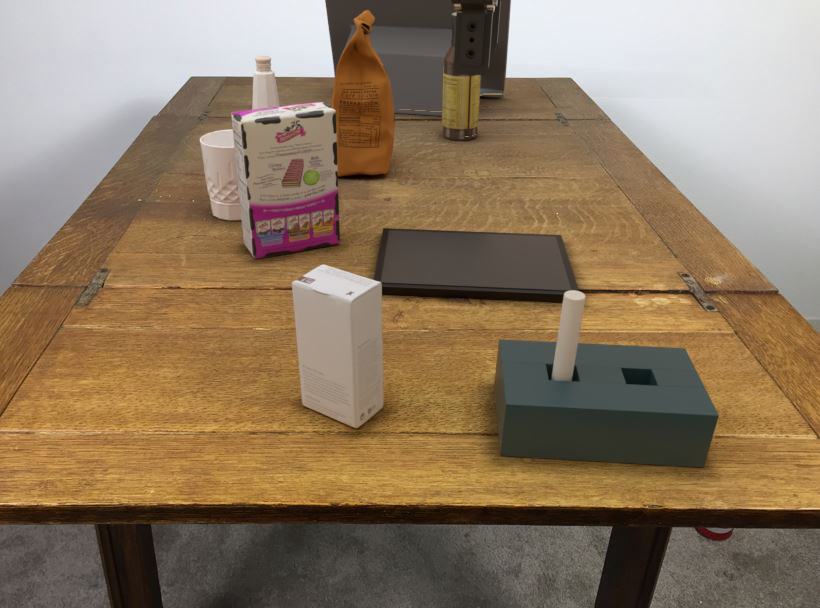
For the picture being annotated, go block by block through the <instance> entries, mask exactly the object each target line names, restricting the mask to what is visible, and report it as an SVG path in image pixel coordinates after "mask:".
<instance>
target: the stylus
mask: <svg viewBox="0 0 820 608" xmlns="http://www.w3.org/2000/svg"><path fill="white" fill-rule="evenodd" d="M585 303H586V294H585V293H584V292H582V291H580V290H579V291H575V290H570V291H566V292H565V293H564V297H563V302H562V304H561V311H560V318H559V326H558V330H557V338H556V342H557V344H556V351H555V358H554V364H553V371H552V378H551V380H555V381H572V376H573V370H574V364H575V358H576V352H577V346H578V343H579V340H580V335H581V334H580V333H581V327H582V320H583V316H584V307H585Z"/></svg>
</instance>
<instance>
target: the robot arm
mask: <svg viewBox="0 0 820 608" xmlns="http://www.w3.org/2000/svg"><path fill="white" fill-rule="evenodd" d="M451 1H452V4H453V5H454V11H457V15H456V34H455V54H454V70H455V71H456V72H457V73H458V74H463V75H484V74H485V73H486V72H487V71H488V68H489V60H490V50H493V49H494V48H495V47H496V46H497V43H498V31H499V18H500V5H501V0H451Z"/></svg>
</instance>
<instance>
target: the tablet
mask: <svg viewBox="0 0 820 608" xmlns="http://www.w3.org/2000/svg"><path fill="white" fill-rule="evenodd" d="M373 280H375V281H378V282H381V283H382V296H383V295H384V296H385V295H386V296H387V295H388V296H409V297H432V298H452V299H453V298H454V299H475V300H477V299H479V300H495V301H496V300H497V301H498V300H499V301H522V302H543V303H545V302H546V303H563V297H564V293H565V292H566V291H570V290H575V291H580V290H579V287H578V283H577V281H576V278H575V274H574V271H573V268H572V265H571V262H570V259H569V254H568V252H567V248H566V245H565V242H564V239H563V236H562V234H547V233H546V234H545V233H524V232H523V233H521V232H520V233H519V232H495V231H494V232H493V231H469V230H468V231H467V230H444V229H443V230H441V229H417V228H415V229H414V228H390V227H389V228H388V227H383V228H382V232H381V238H380V244H379V249H378V254H377V260H376V265H375V271H374V277H373Z"/></svg>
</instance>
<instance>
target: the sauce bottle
mask: <svg viewBox="0 0 820 608" xmlns="http://www.w3.org/2000/svg"><path fill="white" fill-rule="evenodd" d="M456 15H457V12H456V13H452V15H451V23H452V38H451V41H452V42H451V44H452V45H451V46H450V48H449V50H448V51H447V53H446V55H445V58H444V68H443V108H442V116H441V125H442V135H443V137H444V138H445V139H448V140H451V141H458V142H459V141H470V140H472V139H474V138H476V137H477V136H478V126H479V124H480V123H479V119H480V99H481V97H480V79H481V75H463V74H458V73H457V72H456V71H455V70H454V54H455V34H456ZM475 134H476V135H475ZM472 135H473V136H472ZM465 136H469V137H465Z"/></svg>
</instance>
